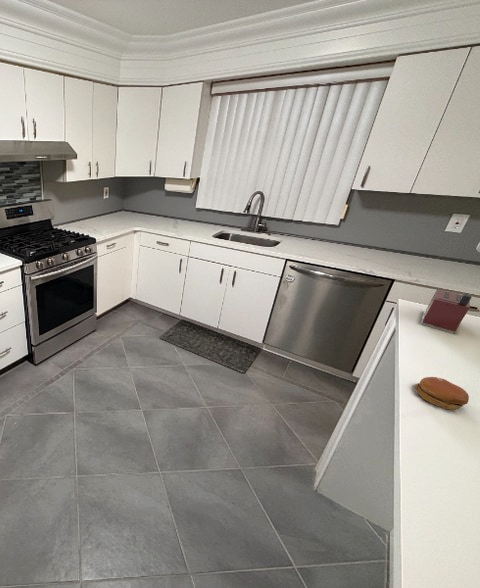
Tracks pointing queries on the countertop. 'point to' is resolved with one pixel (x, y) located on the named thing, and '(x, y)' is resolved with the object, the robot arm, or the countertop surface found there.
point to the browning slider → (465, 299)
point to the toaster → (445, 311)
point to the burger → (442, 393)
